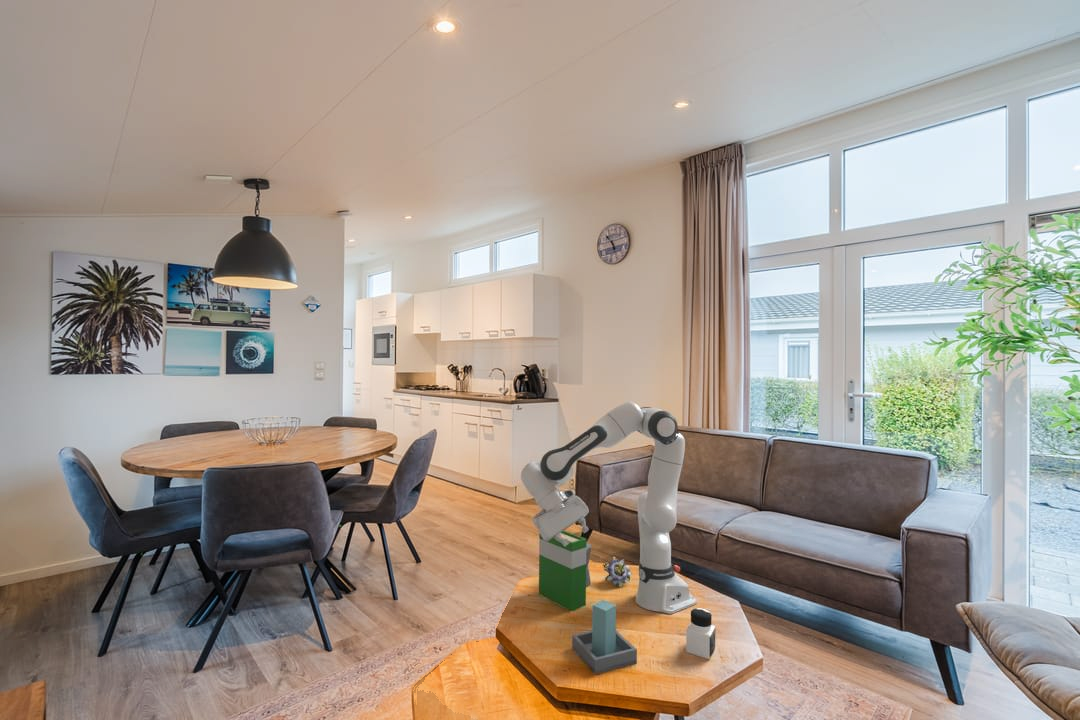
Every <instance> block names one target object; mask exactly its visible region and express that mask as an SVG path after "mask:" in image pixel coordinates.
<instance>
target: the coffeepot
mask: <svg viewBox="0 0 1080 720" xmlns="http://www.w3.org/2000/svg"><path fill="white" fill-rule="evenodd" d="M591 550H592V544H591V543H589V542H586V588H588V587H590V586H591V576H590V569H589V567H590V566H589V563H590V559H591V558H590V556H591Z"/></svg>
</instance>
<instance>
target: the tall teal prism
mask: <svg viewBox="0 0 1080 720" xmlns="http://www.w3.org/2000/svg"><path fill="white" fill-rule="evenodd" d="M591 614H592V617H591V619H592V620H591V621H592V626H591V627H592V628H591V631H592V652H593V653H595V654H597V655H598V656H604V655H608V654H612V653H615V652H616V631H617V627H616V626H617V623H616V622H617V605H616V604H614V603H612V602H609V601H607V600H604V599H601V600H599V601H597V602H595V603H593V604H592V613H591Z"/></svg>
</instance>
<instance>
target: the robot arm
mask: <svg viewBox="0 0 1080 720" xmlns="http://www.w3.org/2000/svg"><path fill="white" fill-rule="evenodd" d="M636 431H637V432H638V433H640V434H642V435H643V436H645V437H647V438H649V439H653V441H654V450H653V453H652V456H651V462H650V465H649V466H650V467H649V470H648V474H647V491H645V492H642V493H641V494H640V495H639V496H638V497H637V501H636V505H637V518H638V519H637V520H638V532H639V543H640V544H639V546H640V547H639V548H640V549H639V551H640V552H639V554H640V555H639V556H640V557H639V561H638V578H639V582H638V585H637V586H638V587H637V592H636V596H635V602H636V604H637V605H638V606H639V607H642V608H643V609H646V610H648V611H653V612H660V613H664V614H669V615H672V614H675V613H677V612H679V611H682V610H685V609H688V608H690V607H692V606H694V605H697V599H696V598H695V597H694V596H693V594H691V593H690V588H689V585H688V583H687V582H686V581H685V580H684V579H682V578H681V577H680V576H678V574H676V573H675V572H677V573H679V572H681V567H680V566H678V565H677V564H673V563H672V558H671V557H672V543H671V538H670V533H671V531H673V530H674V529H675V527H676V525H677V520H678V517H677V507H678V506H677V503H678V489H679V481H680V477H681V472H682V468H683V462H684V457H685V449H686V440H685V437H684V436H683V435H682V434H681V433H680V432H679V426H678V422H677V419H676V417H675V416H674V415H673V414H672V413H670V412H668V411H667V410H663V409H660V408H657V407H651V406H643V407H640V405H638V404H636V402H633V401H626V402H623V403H622V404H619V405H618V406H616V407H614V408H613V409H611V410H610V411H608V412H607V413H606V414H604V415H603V416H602V417H600V418H599V419H598V420H597V421H596V422H595V423H594V424H593V425H592V426H591V427H589V429H587V430H586V431H584V432H583V433H582V434H579V436H578V437H575V438H574V439H573V440H572V441H570V442H568V443H567V444H566V445H564V446H561V447H560V448H554V449H551V450H548V451H547V452H546V453H544V455H543V456H542V457H541V460H540V461H538V460H537V461H536V460H533V461H530V462H529V463H527V464H526V465H525V466H524V468H523V469H522V471H521V473H520V480H521V483H523V485H524V487H525V489H526V491H527V492H528V493H529V495H530V496H531V497H532V498H534V500H535V503H536V505H537V506H538V508H539V509H540V510H541V511H540V512H538V513H536V514H534V515H533V518H532V524H533V525H534V526H535V527H536V528H537V531H538V534H539V533H540V535H541V536H542V538H543V539H544V540H545V541H549V540H550V539H552V538H553V537H554V538H555V539H556V540H557V541H559V542H561V543H562V544H563V545H564V547H565V546H567V545H568V544H569V541H568V540H567V538H566V539H563V538H562V537H560V536H561V535H560V533H561V532H562V531H566V530H567V529H569V528H570V527H571V526H573V525H574V524H576V523H577V522H578V523H579V524H581V532H582V533H584V534H585V533H587V532H588V531H589V527H588V526H587V523H586V522H587V521H586V518H585V517H586V516H587V515H588V514H589V513H590V511H589V507H588V506H587V504H586V502H584V501H583V500H582V498H581V497H579V496H578V495H576V491H575V490H574V489H567V490H559V489H558V487H562V485H565V484H567V483H568V482H569V481H570V480H571V479H572V478H573V473H574V469H573V466H574V464H575V463H576V462H577V461H579V460H580V459H582V457H585V455H587V454H588V453H589V452H591V451H594V450H595V449H598V448H605V449H606V448H609V449H610V448H612V447H614V446H615V445H618V444H620V443H621V442H623V440H625V439H626V438H628V437H629V436H630V435H631V434H632V433H634V432H636Z"/></svg>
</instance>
